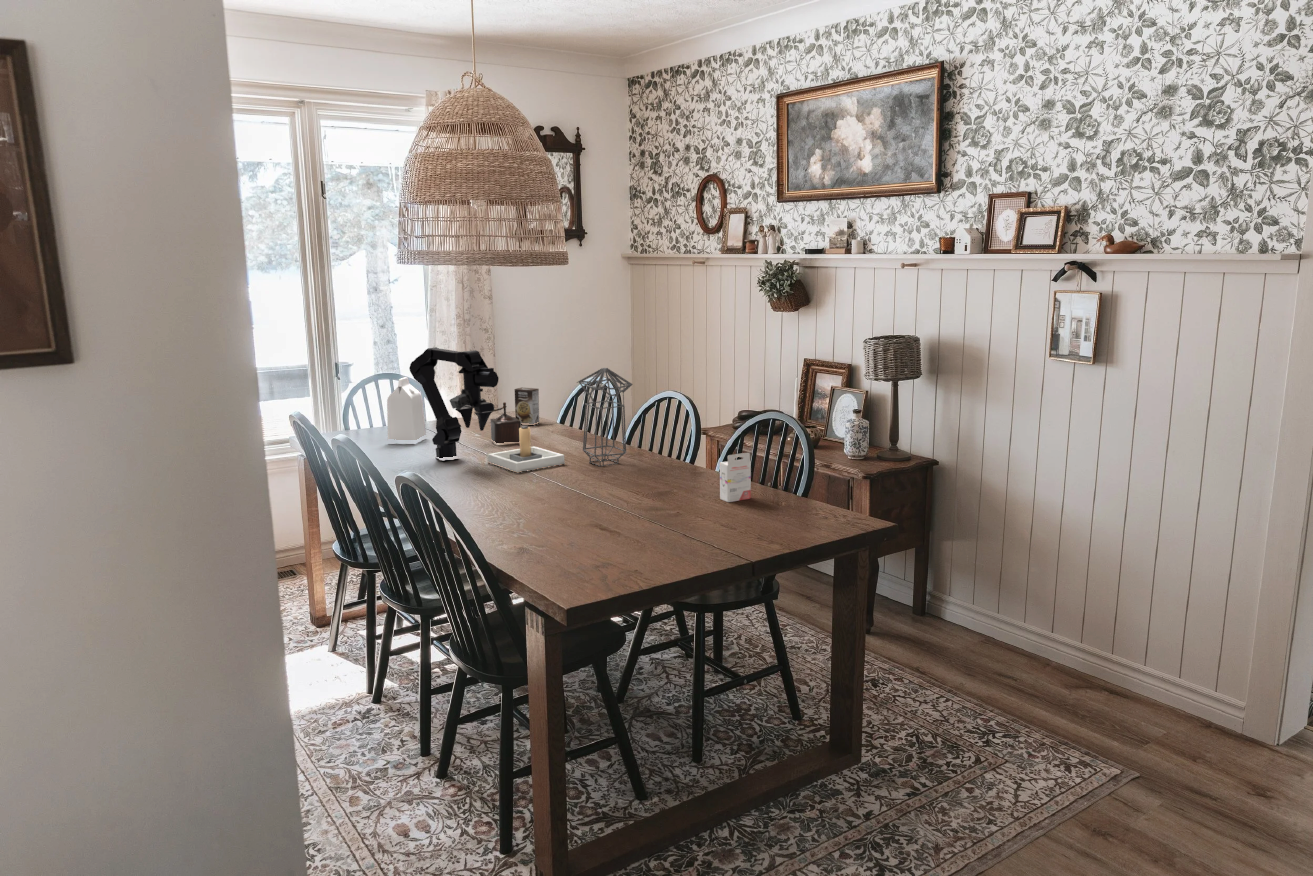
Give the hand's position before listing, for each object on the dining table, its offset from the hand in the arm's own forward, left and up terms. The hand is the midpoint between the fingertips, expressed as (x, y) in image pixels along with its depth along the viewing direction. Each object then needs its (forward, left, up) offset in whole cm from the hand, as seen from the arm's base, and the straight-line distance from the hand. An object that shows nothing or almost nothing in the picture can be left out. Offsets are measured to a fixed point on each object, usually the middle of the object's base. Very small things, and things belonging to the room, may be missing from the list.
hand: (474, 429), depth 327 cm
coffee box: (-56, -54, -13) cm, 79 cm away
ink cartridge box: (-37, +96, -13) cm, 103 cm away
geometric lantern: (-36, +31, -13) cm, 49 cm away
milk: (+1, -55, -13) cm, 57 cm away
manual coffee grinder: (-26, -27, -13) cm, 40 cm away
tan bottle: (-14, +12, -12) cm, 21 cm away
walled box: (-14, +12, -13) cm, 22 cm away
